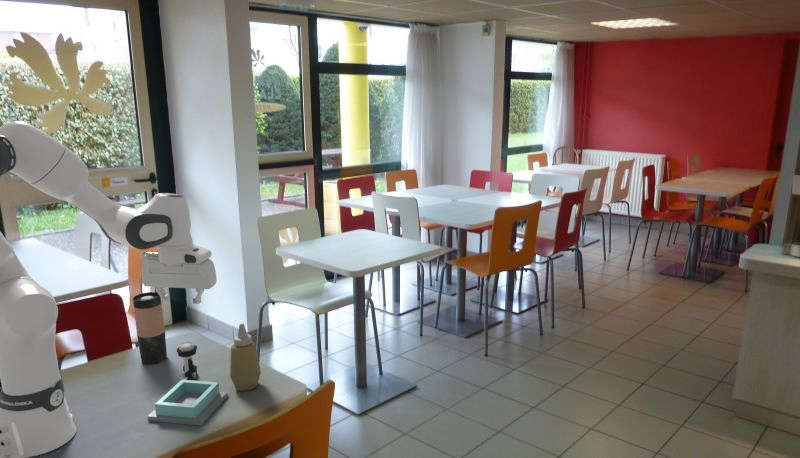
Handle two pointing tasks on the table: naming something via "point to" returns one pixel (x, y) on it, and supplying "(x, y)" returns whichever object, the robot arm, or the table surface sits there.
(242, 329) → the squeeze bottle
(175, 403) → the socket plate
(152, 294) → the travel mug
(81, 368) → the table surface
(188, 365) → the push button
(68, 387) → the table surface
